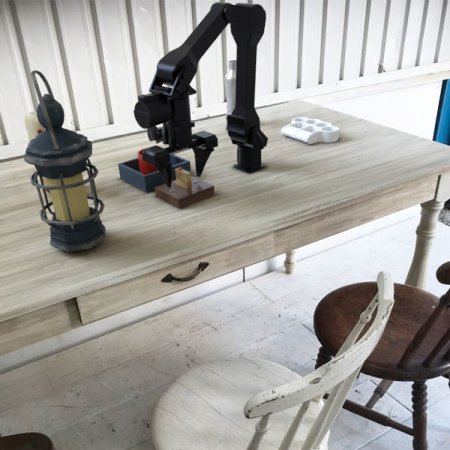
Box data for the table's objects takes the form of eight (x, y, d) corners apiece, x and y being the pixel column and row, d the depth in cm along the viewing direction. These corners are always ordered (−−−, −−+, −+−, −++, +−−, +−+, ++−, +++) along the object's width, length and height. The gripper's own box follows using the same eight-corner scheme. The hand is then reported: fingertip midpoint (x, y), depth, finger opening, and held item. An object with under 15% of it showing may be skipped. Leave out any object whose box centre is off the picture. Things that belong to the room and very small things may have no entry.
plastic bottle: (246, 128, 172) (245, 63, 160) (225, 129, 172) (223, 63, 160) (246, 122, 177) (245, 58, 165) (226, 123, 177) (223, 59, 166)
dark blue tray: (191, 176, 141) (190, 160, 138) (146, 192, 133) (144, 176, 131) (164, 164, 149) (162, 149, 146) (120, 179, 141) (117, 163, 139)
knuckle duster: (274, 134, 166) (307, 124, 173) (314, 148, 154) (348, 137, 161) (274, 123, 164) (307, 114, 171) (315, 137, 152) (349, 126, 159)
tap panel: (214, 195, 130) (214, 185, 129) (179, 209, 125) (178, 198, 123) (190, 183, 137) (189, 174, 135) (155, 196, 131) (154, 186, 129)
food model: (35, 189, 138) (15, 111, 126) (58, 181, 141) (41, 105, 129) (51, 200, 131) (31, 120, 120) (75, 192, 135) (58, 113, 123)
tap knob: (192, 188, 128) (190, 171, 126) (187, 189, 127) (186, 173, 125) (181, 182, 131) (179, 166, 128) (176, 184, 130) (175, 168, 128)
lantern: (111, 255, 108) (77, 76, 88) (46, 264, 106) (-4, 83, 86) (110, 224, 119) (79, 59, 99) (50, 231, 118) (7, 65, 97)
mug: (150, 182, 136) (147, 158, 132) (135, 175, 140) (132, 152, 137) (178, 172, 141) (176, 149, 137) (163, 166, 145) (161, 143, 141)
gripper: (188, 102, 129) (193, 163, 138) (124, 119, 120) (134, 183, 129) (218, 111, 122) (220, 174, 131) (152, 130, 113) (160, 197, 122)
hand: (184, 181), depth 129 cm, fingers open, 9 cm apart
